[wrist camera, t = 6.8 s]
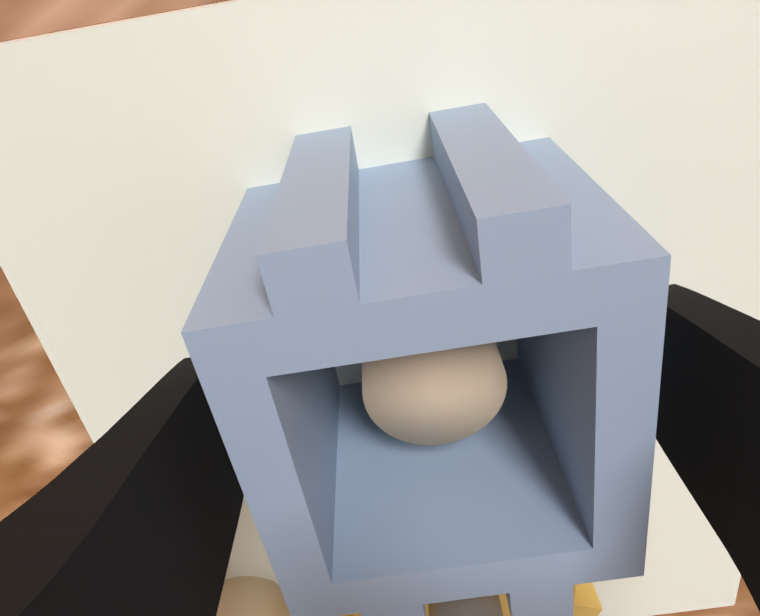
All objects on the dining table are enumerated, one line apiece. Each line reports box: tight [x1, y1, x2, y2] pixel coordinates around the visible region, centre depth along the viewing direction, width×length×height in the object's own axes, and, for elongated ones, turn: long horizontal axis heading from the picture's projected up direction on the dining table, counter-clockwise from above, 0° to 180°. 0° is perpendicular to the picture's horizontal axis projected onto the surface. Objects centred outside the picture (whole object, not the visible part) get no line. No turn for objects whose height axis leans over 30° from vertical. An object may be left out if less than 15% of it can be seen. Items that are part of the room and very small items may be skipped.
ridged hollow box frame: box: [181, 103, 671, 616], centre depth 11 cm, size 7×6×5 cm
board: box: [0, 0, 760, 616], centre depth 13 cm, size 18×16×4 cm
